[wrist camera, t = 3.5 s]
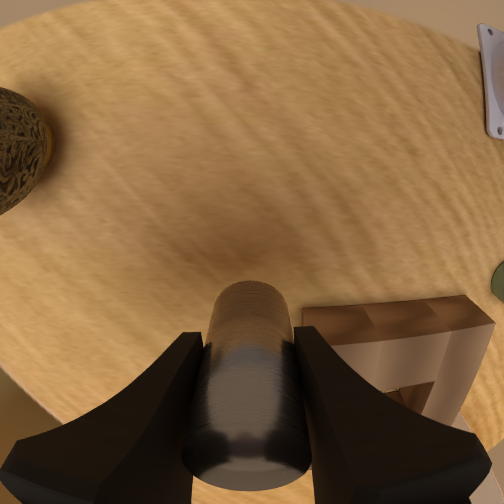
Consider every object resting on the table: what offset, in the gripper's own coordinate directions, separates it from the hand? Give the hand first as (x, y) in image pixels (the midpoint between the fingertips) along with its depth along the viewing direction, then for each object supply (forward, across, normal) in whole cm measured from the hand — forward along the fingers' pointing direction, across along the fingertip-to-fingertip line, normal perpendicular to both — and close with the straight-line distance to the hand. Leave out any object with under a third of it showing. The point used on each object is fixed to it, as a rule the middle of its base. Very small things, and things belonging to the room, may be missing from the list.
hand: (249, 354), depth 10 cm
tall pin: (+3, 0, 0) cm, 3 cm away
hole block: (+8, -9, +9) cm, 15 cm away
